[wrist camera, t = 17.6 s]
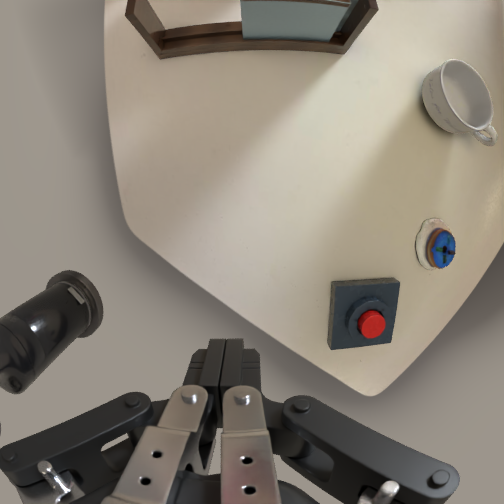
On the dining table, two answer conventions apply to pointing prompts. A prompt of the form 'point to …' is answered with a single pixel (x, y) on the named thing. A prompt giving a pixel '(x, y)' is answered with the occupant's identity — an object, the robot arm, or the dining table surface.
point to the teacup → (459, 100)
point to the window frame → (239, 33)
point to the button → (371, 324)
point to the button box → (361, 311)
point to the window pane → (292, 19)
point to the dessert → (435, 244)
